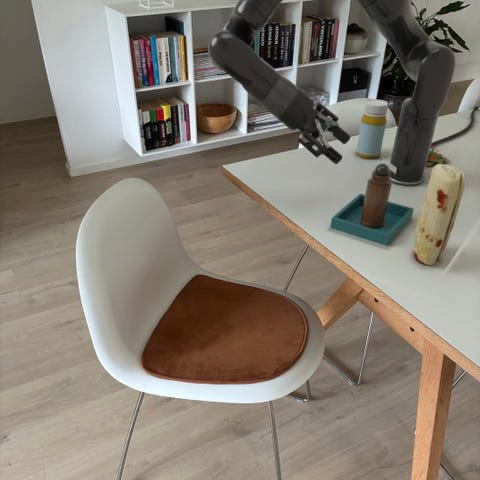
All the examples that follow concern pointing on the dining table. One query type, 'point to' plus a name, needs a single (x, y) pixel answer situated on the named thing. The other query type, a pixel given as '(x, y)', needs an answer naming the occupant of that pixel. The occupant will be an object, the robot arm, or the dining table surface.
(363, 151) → the bottle
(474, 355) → the dining table surface
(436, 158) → the lily flower
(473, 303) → the dining table surface
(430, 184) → the food model
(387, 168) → the pepper mill
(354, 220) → the tray
